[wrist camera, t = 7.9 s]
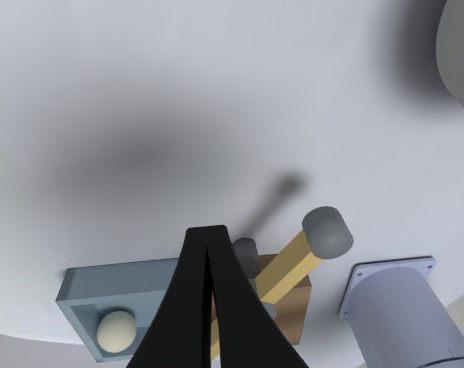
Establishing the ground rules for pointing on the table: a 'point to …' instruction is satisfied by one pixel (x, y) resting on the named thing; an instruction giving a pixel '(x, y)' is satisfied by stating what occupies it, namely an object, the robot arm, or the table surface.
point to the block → (289, 305)
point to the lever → (297, 260)
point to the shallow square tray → (114, 299)
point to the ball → (116, 331)
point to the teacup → (451, 48)
